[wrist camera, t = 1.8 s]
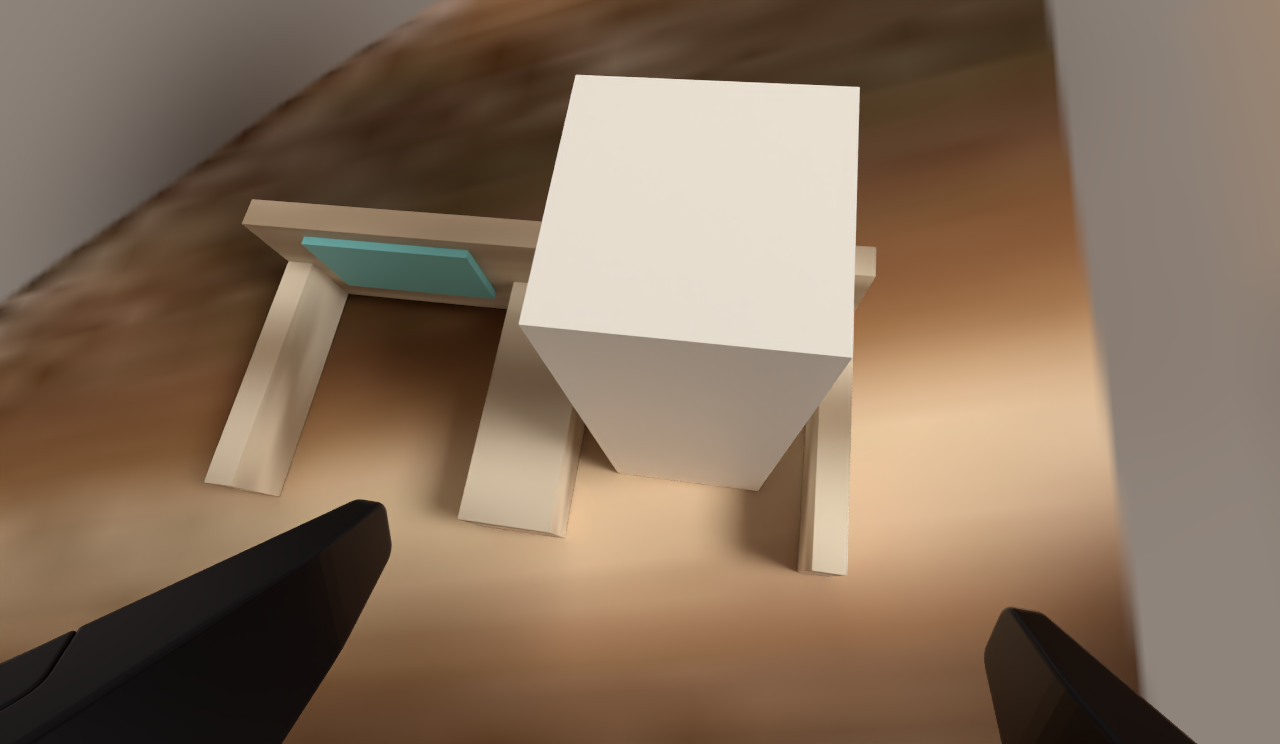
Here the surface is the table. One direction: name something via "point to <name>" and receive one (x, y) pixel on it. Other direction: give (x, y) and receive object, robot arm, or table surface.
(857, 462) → the table surface
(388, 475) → the table surface
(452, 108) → the table surface
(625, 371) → the plug block
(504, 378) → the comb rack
